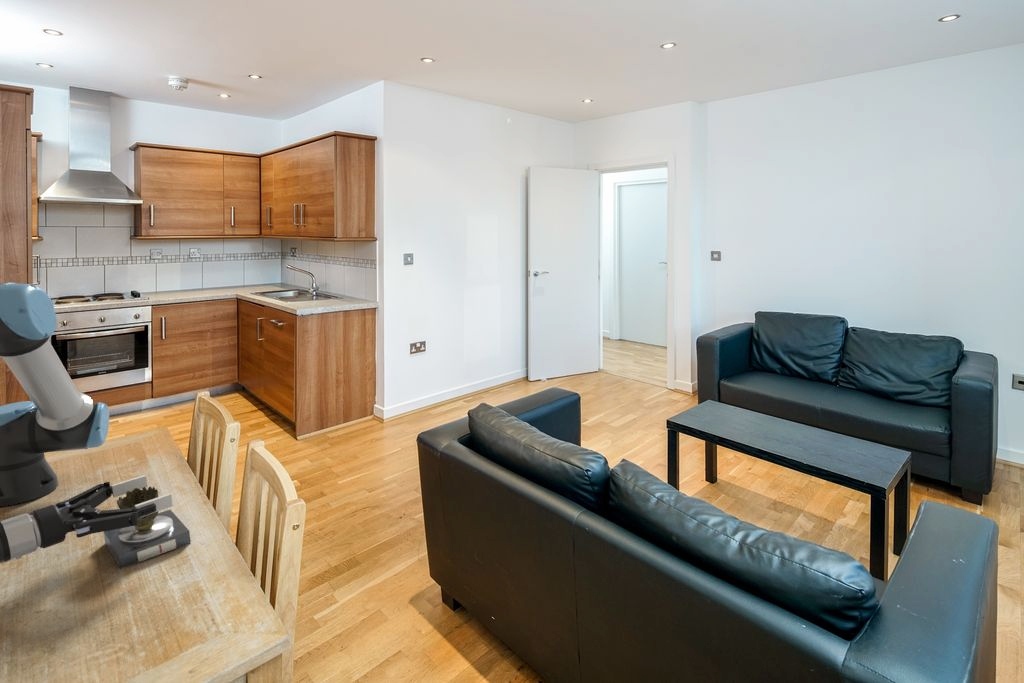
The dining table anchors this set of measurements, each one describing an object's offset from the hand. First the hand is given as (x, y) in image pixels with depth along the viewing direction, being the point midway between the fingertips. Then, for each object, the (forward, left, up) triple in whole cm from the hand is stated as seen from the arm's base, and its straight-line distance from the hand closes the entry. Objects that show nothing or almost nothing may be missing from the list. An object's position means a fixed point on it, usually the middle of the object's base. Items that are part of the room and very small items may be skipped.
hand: (158, 489), depth 121 cm
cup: (0, -3, -8) cm, 8 cm away
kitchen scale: (0, -3, -11) cm, 12 cm away
